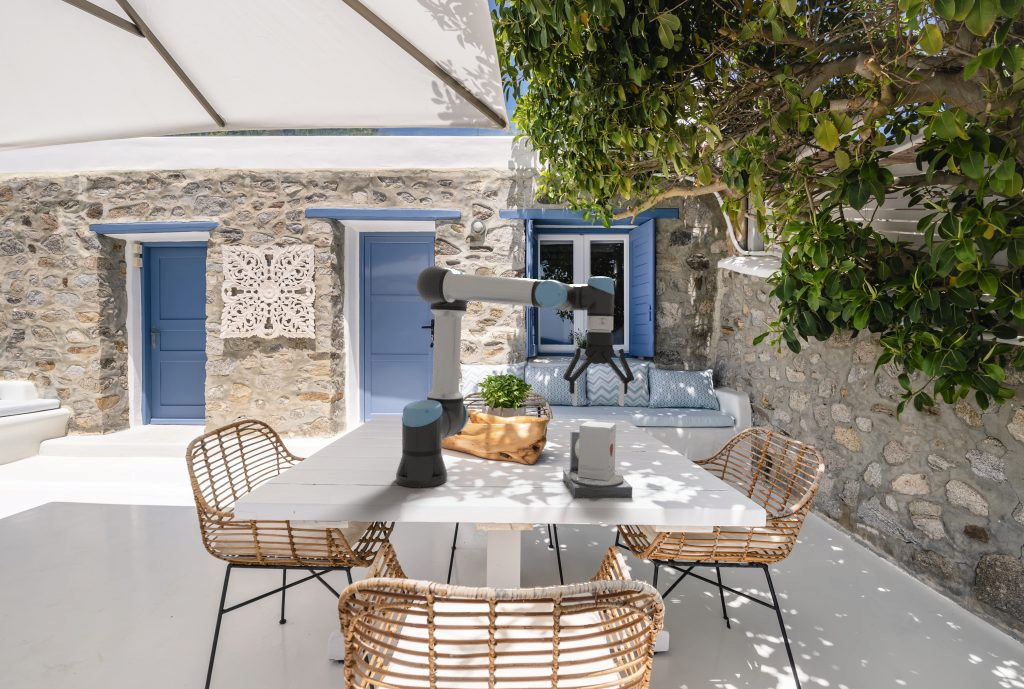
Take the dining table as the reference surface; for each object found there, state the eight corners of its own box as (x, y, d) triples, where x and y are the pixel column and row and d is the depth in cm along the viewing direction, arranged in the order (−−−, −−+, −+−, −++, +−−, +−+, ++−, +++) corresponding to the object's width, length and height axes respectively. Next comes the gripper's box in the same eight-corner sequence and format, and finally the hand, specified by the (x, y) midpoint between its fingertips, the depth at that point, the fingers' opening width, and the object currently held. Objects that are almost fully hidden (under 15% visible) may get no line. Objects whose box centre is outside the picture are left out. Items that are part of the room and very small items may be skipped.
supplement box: (608, 481, 146) (609, 428, 145) (577, 477, 150) (578, 425, 149) (615, 473, 154) (616, 422, 154) (585, 469, 158) (586, 420, 157)
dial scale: (574, 498, 143) (575, 444, 143) (563, 479, 161) (564, 430, 161) (632, 497, 145) (633, 443, 144) (614, 478, 163) (615, 430, 162)
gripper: (558, 330, 146) (557, 406, 147) (646, 332, 148) (644, 407, 149) (554, 330, 153) (553, 402, 154) (638, 332, 155) (636, 403, 156)
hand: (598, 405), depth 151 cm, fingers open, 13 cm apart
